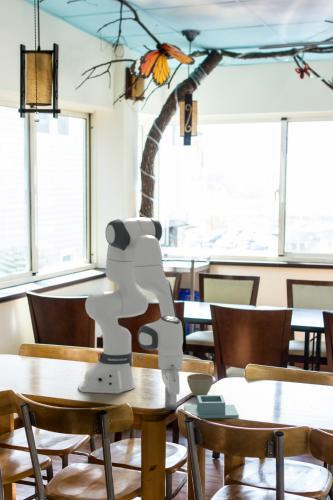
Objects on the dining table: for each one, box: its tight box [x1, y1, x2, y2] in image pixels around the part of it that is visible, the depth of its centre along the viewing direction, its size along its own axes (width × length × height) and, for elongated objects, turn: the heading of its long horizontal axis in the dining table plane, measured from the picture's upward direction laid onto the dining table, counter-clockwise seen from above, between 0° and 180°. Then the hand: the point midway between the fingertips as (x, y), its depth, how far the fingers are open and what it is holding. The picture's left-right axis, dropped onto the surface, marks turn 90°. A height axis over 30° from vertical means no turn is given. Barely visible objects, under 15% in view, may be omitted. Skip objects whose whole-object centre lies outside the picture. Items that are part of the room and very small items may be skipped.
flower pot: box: [186, 373, 214, 397], centre depth 273 cm, size 10×10×7 cm
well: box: [184, 394, 239, 419], centre depth 251 cm, size 18×12×5 cm, turn 92°
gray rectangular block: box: [164, 386, 178, 411], centre depth 257 cm, size 4×4×8 cm
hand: (170, 399), depth 255 cm, fingers open, 8 cm apart
